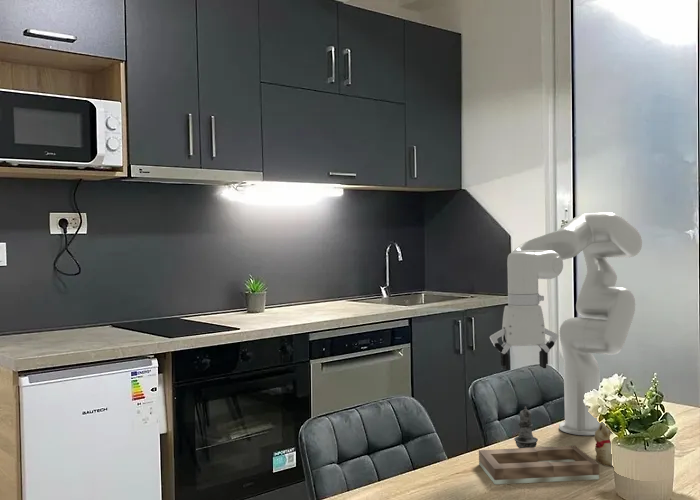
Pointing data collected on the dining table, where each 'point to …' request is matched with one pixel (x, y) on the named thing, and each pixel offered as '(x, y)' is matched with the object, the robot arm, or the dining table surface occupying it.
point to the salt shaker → (525, 431)
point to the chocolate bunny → (603, 445)
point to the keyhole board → (538, 465)
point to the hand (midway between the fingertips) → (524, 368)
